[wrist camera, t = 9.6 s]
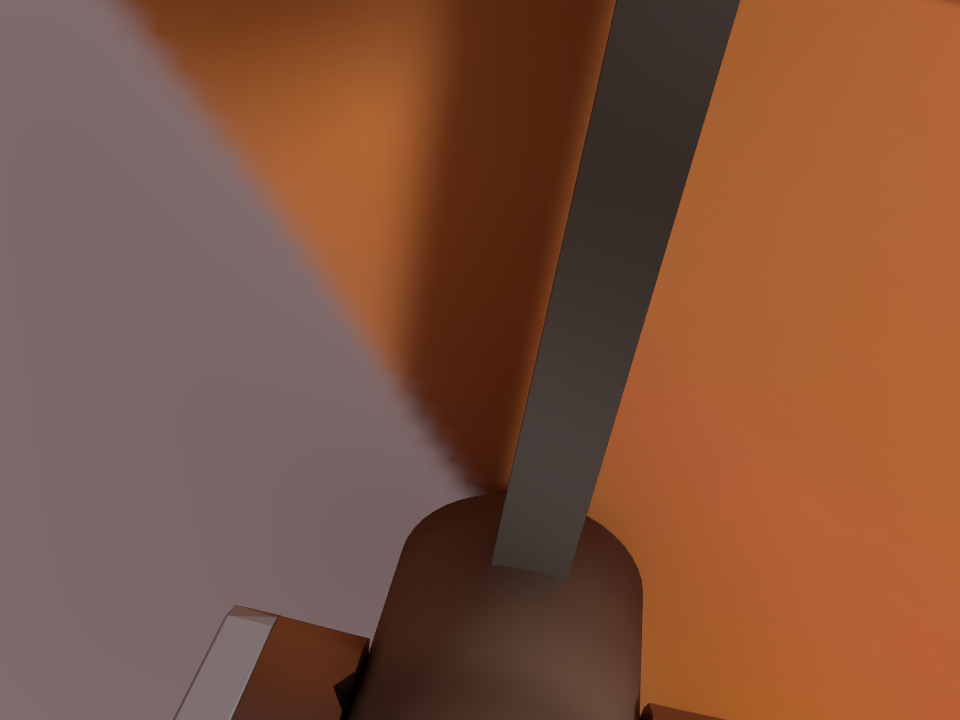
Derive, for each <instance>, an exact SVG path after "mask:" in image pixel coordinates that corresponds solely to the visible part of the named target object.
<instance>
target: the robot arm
mask: <svg viewBox="0 0 960 720" xmlns="http://www.w3.org/2000/svg"><path fill="white" fill-rule="evenodd" d="M369 643H370V639H369V638H365V637H361V636H357V635H353V634H349V633H345V632H341V631H337V630H333V629H329V628H326V627H321V626H318V625H314V624H310V623H306V622H302V621H298V620H294V619H290V618H287V617H283V616H280V615H276V614H272V613H268V612H263V611H259V610H255V609H251V608H246V607H242V606H238V605H235V606H234V608H233V609H232V610H231V611H230V612H229V613H228V614H227V616H226V617H225V618H224V620H223V622H222V624H221V626H220V628H219V630H218V632H217V634H216V636H215V638H214V640H213V642H212V644H211V646H210V648H209V650H208V652H207V653H206V655H205V658H204V659H203V661H202V663H201V665H200V667H199V669H198V671H197V673H196V675H195V677H194V679H193V681H192V683H191V685H190V687H189V689H188V691H187V693H186V695H185V697H184V699H183V701H182V703H181V705H180V707H179V709H178V711H177V713H176V715H175V717H174V719H173V720H347V718H348V715H349V712H350V709H351V707H352V705H353V701H354V698H355V695H356V692H357V689H358V686H359V683H360V680H361V677H362V673H363V670H364V667H365V664H366V661H367V658H368V655H369ZM640 720H725V719H720V718H716V717H711V716H707V715H702V714H697V713H693V712H688V711H684V710H679V709H675V708H670V707H665V706H661V705H656V704H652V703H649V704H647V705H646V706H645V707H644V709H643V711H642V713H641V716H640Z"/></svg>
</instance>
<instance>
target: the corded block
mask: <svg viewBox="0 0 960 720" xmlns="http://www.w3.org/2000/svg"><path fill="white" fill-rule="evenodd" d="M739 2H740V0H616V4H615V9H614V13H613V18H612V22H611V27H610V31H609V36H608V40H607V45H606V49H605V54H604V58H603V63H602V67H601V72H600V76H599V81H598V85H597V90H596V94H595V99H594V103H593V108H592V112H591V117H590V121H589V125H588V130H587V134H586V139H585V143H584V148H583V152H582V157H581V161H580V166H579V170H578V175H577V179H576V184H575V188H574V193H573V197H572V202H571V206H570V211H569V215H568V220H567V224H566V229H565V233H564V238H563V242H562V247H561V251H560V255H559V260H558V264H557V269H556V273H555V278H554V282H553V287H552V291H551V296H550V300H549V305H548V309H547V314H546V318H545V323H544V327H543V332H542V336H541V341H540V345H539V350H538V354H537V359H536V363H535V368H534V372H533V377H532V381H531V386H530V390H529V394H528V399H527V403H526V408H525V412H524V417H523V421H522V426H521V430H520V435H519V439H518V444H517V448H516V453H515V457H514V462H513V466H512V471H511V475H510V480H509V484H508V489H507V493H506V494H491V495H483V496H475V497H470V498H466V499H462V500H459V501H456V502H453V503H450V504H448V505H445V506H443V507H441V508H440V509H438V510H436V511H434V512H432V513H431V514H430V515H428V516H427V517H426V518H424V519H423V520H422V521H421V522H420V523H419V524H418V525H417V526H416V527H415V528H414V529H413V531H412V532H411V534H410V535H409V536H408V538H407V540H406V542H405V545H404V547H403V549H402V553H401V556H400V559H399V562H398V565H397V568H396V571H395V574H394V577H393V580H392V583H391V586H390V590H389V592H388V596H387V599H386V602H385V605H384V608H383V611H382V614H381V617H380V620H379V623H378V626H377V630H376V632H375V636H374V639H373V642H372V645H371V648H370V651H369V655H368V658H367V661H366V664H365V667H364V670H363V673H362V677H361V680H360V683H359V686H358V689H357V692H356V695H355V698H354V701H353V705H352V707H351V709H350V712H349V715H348V718H347V720H640V683H641V646H642V610H643V588H642V580H641V577H640V574H639V570H638V568H637V566H636V564H635V562H634V560H633V558H632V556H631V555H630V553H629V552H628V551H627V549H626V548H625V546H624V545H623V544H622V543H621V542H620V541H619V540H618V539H617V538H616V537H615V536H614V535H613V534H612V533H611V532H609V531H608V530H607V529H606V528H605V527H603V526H602V525H601V524H599V523H598V522H596V521H595V520H593V519H591V518H590V517H588V516H586V515H587V512H588V508H589V505H590V502H591V498H592V495H593V491H594V488H595V485H596V481H597V478H598V475H599V471H600V468H601V465H602V461H603V458H604V455H605V451H606V448H607V445H608V441H609V438H610V435H611V431H612V428H613V424H614V421H615V418H616V414H617V411H618V408H619V404H620V401H621V398H622V394H623V391H624V388H625V384H626V381H627V378H628V374H629V371H630V368H631V364H632V361H633V357H634V354H635V351H636V347H637V344H638V341H639V337H640V334H641V331H642V327H643V324H644V321H645V317H646V314H647V311H648V307H649V304H650V301H651V297H652V294H653V290H654V287H655V284H656V280H657V277H658V274H659V270H660V267H661V264H662V260H663V257H664V254H665V250H666V247H667V244H668V240H669V237H670V234H671V230H672V227H673V224H674V220H675V217H676V213H677V210H678V207H679V203H680V200H681V197H682V193H683V190H684V187H685V183H686V180H687V177H688V173H689V170H690V167H691V163H692V160H693V157H694V153H695V150H696V146H697V143H698V140H699V136H700V133H701V130H702V126H703V123H704V120H705V116H706V113H707V110H708V106H709V103H710V100H711V96H712V93H713V90H714V86H715V83H716V79H717V76H718V73H719V69H720V66H721V63H722V59H723V56H724V53H725V49H726V46H727V43H728V39H729V36H730V33H731V29H732V26H733V23H734V19H735V16H736V12H737V9H738V6H739Z"/></svg>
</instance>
